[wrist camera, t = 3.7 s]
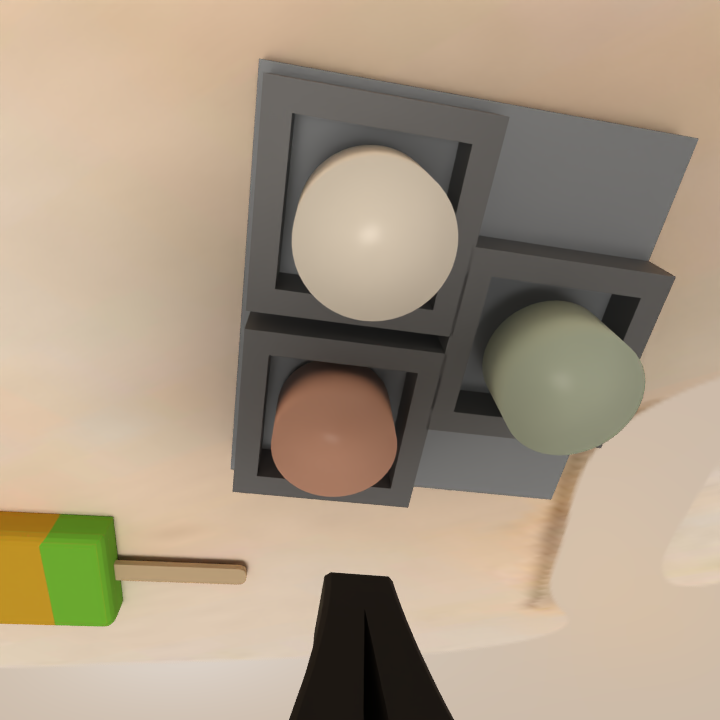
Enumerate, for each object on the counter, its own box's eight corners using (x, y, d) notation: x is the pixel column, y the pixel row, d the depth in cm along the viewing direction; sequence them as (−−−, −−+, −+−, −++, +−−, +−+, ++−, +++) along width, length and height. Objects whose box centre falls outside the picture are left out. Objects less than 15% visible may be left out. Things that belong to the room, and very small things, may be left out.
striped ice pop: (-114, 497, 23) (-149, 531, 21) (250, 513, 25) (245, 546, 23) (-81, 589, 26) (-109, 626, 24) (248, 599, 27) (242, 634, 25)
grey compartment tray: (676, 134, 17) (733, 144, 15) (541, 480, 24) (566, 527, 21) (264, 59, 16) (252, 56, 13) (235, 450, 22) (223, 497, 20)
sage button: (625, 309, 17) (667, 342, 15) (581, 417, 19) (614, 461, 17) (501, 292, 17) (527, 324, 14) (468, 404, 18) (486, 448, 16)
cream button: (455, 158, 15) (477, 171, 13) (423, 297, 16) (437, 330, 14) (305, 132, 14) (301, 142, 12) (289, 279, 16) (283, 310, 14)
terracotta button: (399, 364, 19) (408, 401, 17) (379, 458, 21) (384, 501, 19) (283, 351, 19) (277, 386, 16) (272, 447, 20) (266, 490, 18)
